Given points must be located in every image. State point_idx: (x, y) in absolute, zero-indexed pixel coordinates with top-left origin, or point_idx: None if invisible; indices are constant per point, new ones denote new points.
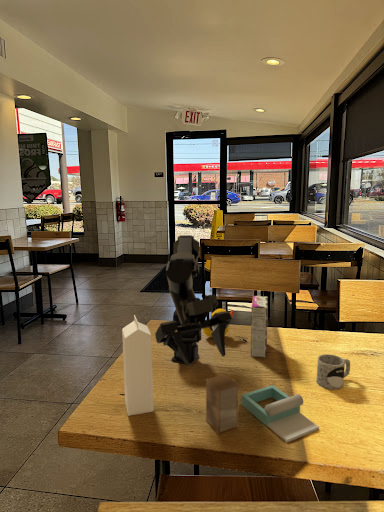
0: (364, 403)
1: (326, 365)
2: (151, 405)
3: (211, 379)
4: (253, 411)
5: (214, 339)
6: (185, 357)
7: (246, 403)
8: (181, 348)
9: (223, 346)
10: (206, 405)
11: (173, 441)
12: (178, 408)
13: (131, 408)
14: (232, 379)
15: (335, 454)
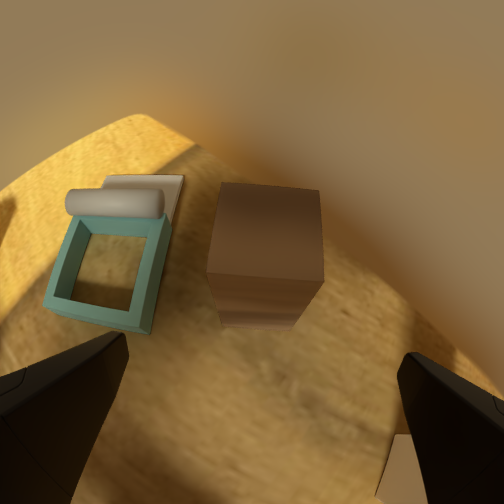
0: (11, 195)
1: None
2: (409, 435)
3: (302, 266)
4: (157, 274)
5: (66, 490)
6: (447, 370)
7: (148, 305)
8: (496, 400)
9: (78, 354)
10: (297, 318)
11: (395, 301)
12: (330, 423)
13: None
14: (215, 217)
15: (150, 137)
